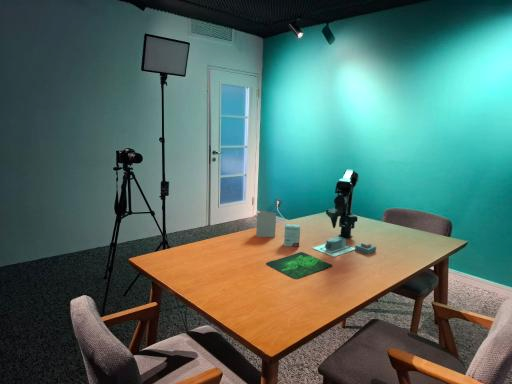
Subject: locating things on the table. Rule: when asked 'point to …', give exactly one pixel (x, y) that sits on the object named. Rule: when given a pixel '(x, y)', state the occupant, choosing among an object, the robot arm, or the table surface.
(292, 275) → the mouse mat
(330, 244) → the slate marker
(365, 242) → the button
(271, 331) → the table surface
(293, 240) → the ink box
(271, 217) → the greeting card
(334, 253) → the paper sheet
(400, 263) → the table surface
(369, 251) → the button frame
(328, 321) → the table surface
